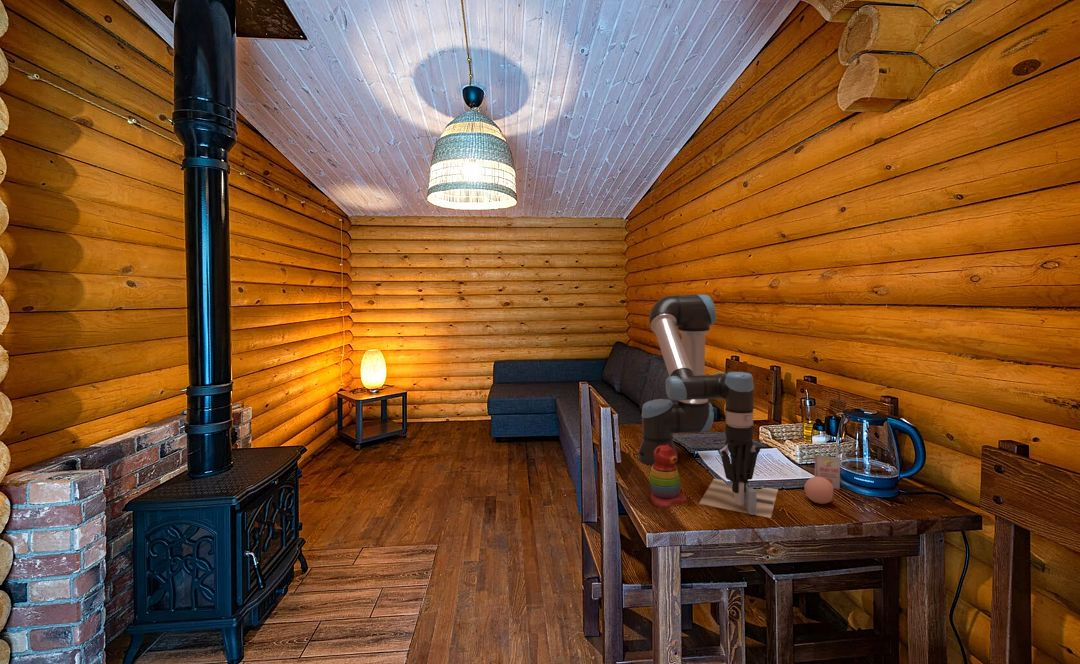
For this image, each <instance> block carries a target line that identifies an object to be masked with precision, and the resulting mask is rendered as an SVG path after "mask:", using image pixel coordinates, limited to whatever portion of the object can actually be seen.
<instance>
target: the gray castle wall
mask: <svg viewBox="0 0 1080 664" xmlns="http://www.w3.org/2000/svg"><path fill="white" fill-rule="evenodd" d="M744 505H746V509H747V510H748V513H749V515H751V516H752V515H754V516H757V515H756V491H755V490H754V489H748V487H747V486H746V492H744ZM748 513H747V514H748Z"/></svg>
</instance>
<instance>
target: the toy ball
mask: <svg viewBox="0 0 1080 664" xmlns="http://www.w3.org/2000/svg"><path fill="white" fill-rule="evenodd" d="M834 490H835V489H834V488H833V485H832V484H831V482H829V481H828V480H827V479H825V478H823V477H815V476H812V477H810V478H809V479H807V480H806V481H805V484H804V493H805V495H806V496H807V498H808V499H810V501H811V502H813V503H816V504H819V505H825V504H828V503H831V501H832V500H833V496H834Z"/></svg>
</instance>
